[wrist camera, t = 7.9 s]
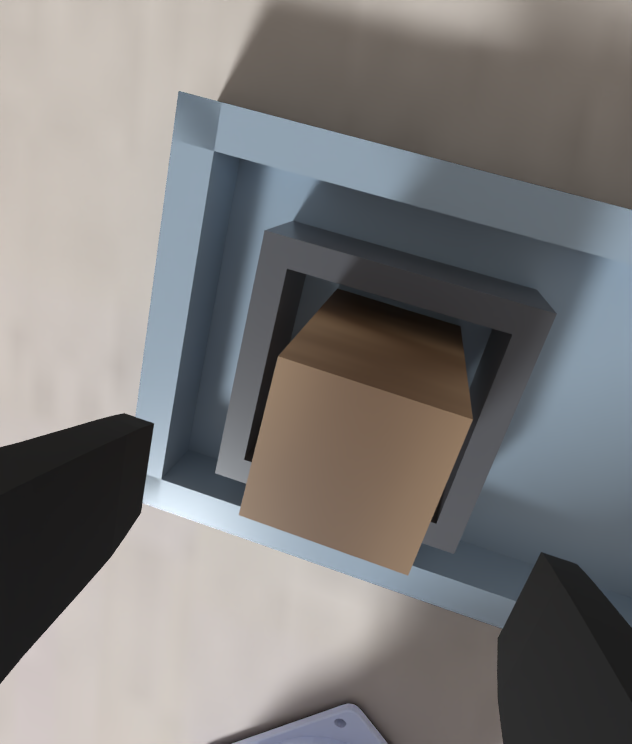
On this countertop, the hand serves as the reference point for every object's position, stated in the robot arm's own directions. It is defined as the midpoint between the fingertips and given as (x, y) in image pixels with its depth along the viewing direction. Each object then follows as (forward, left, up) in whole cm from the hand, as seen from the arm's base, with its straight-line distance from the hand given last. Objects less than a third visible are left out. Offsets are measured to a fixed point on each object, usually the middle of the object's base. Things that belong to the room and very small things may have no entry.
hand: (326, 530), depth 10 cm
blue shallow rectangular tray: (+2, -2, -9) cm, 10 cm away
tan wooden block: (0, 0, -9) cm, 9 cm away
